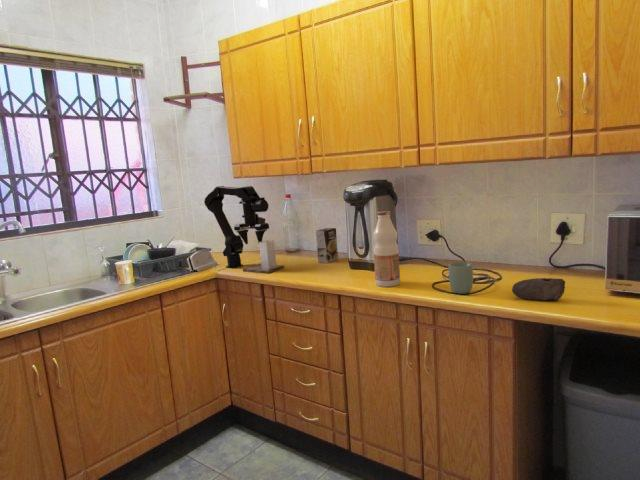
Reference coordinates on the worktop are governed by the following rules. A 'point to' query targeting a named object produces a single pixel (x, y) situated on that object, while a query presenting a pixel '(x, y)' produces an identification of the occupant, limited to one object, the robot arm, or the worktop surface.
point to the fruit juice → (386, 252)
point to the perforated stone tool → (539, 289)
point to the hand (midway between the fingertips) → (253, 244)
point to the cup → (461, 277)
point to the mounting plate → (259, 269)
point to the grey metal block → (201, 261)
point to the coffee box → (327, 245)
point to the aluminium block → (267, 254)
